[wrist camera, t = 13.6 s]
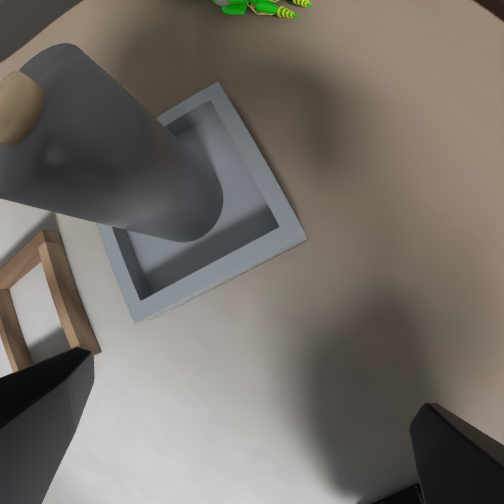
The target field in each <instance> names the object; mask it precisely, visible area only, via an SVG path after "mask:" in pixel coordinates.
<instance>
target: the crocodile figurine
mask: <svg viewBox="0 0 504 504" xmlns="http://www.w3.org/2000/svg"><path fill="white" fill-rule="evenodd" d="M212 1H213V3H215V4H217V5H219V6H222V7H221V10H222V12H223V13H225V14H229V15H238V14H245V10H246V8H247V7H248V6H249V4H250V3H251V5H250V6H249V7H250V8H251V10H252V11H254V13H256V12H259V13H260V14H259V13H256V14H258V15H261V14H262V15H266V14H267V15H273V14H275V15H278V17H284V18H286V17H287V18H290V17H291V18H293V17H298V16H297V15H296V14H295V13H294V12H292V11H291V10H288V8H285V7H284V6H280V7H279V6H277V5H274V3H276V2H278V1H279V0H212ZM290 1H293V3H294V4H296V5H301V6H305V7H308V6H309V7H312V5H311V4H310V2H309V1H308V0H290ZM296 2H297V3H296ZM252 8H253V9H252ZM254 8H255V9H256V10H257V11H255V10H254ZM264 13H265V14H264Z"/></svg>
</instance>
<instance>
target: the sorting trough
mask: <svg viewBox="0 0 504 504" xmlns="http://www.w3.org/2000/svg"><path fill="white" fill-rule="evenodd" d="M156 119H157V120H158V121H159V122H160V123H161V124H162V125H163V126H164V127H165V128H167V129H168V130H169V131H170V132H171V133H172V134H173V135H174V136H175V137H176V138H177V139H178V140H179V141H180V142H181V143H182V144H183V145H184V146H185V147H186V148H188V149H189V150H190V151H191V152H192V153H193V154H194V155H195V156H196V157H197V158H198V159H199V160H200V161H201V162H202V163H203V164H204V165H205V166H206V167H207V168H208V169H209V170H210V171H211V172H212V173H213V174H214V175H215V176H216V177H217V179H218V180H219V182H220V184H221V187H222V190H223V208H222V212H221V215H220V217H219V219H218V221H217V223H216V224H215V226H214V227H213V228H212V229H211V230H210V231H209V232H208V233H207V234H206V235H204V236H203V237H201V238H199V239H197V240H195V241H191V242H185V243H181V242H174V241H170V240H166V239H162V238H158V237H154V236H149V235H145V234H141V233H137V232H133V231H129V230H125V229H121V228H117V227H113V226H109V225H105V224H101V223H97V222H96V223H97V226H98V229H99V232H100V235H101V238H102V241H103V244H104V247H105V249H106V252H107V255H108V258H109V261H110V263H111V266H112V269H113V271H114V274H115V277H116V279H117V282H118V284H119V287H120V289H121V292H122V294H123V297H124V299H125V302H126V304H127V306H128V309H129V311H130V314H131V316H132V318H133V320H134V323H138V322H142V321H146V320H150V319H154V318H156V317H158V316H160V315H162V314H164V313H166V312H168V311H170V310H172V309H174V308H176V307H178V306H180V305H182V304H184V303H186V302H188V301H190V300H192V299H194V298H196V297H198V296H200V295H202V294H204V293H206V292H208V291H210V290H212V289H214V288H216V287H218V286H219V285H221V284H223V283H225V282H227V281H229V280H231V279H233V278H235V277H237V276H239V275H241V274H243V273H245V272H247V271H249V270H251V269H253V268H255V267H257V266H258V265H260V264H262V263H264V262H266V261H268V260H270V259H272V258H274V257H276V256H278V255H280V254H282V253H284V252H286V251H287V250H289V249H291V248H293V247H295V246H297V245H299V244H301V243H303V242H305V241H307V237H306V234H305V232H304V230H303V228H302V227H301V225H300V223H299V221H298V219H297V217H296V215H295V213H294V212H293V210H292V208H291V206H290V204H289V202H288V200H287V199H286V197H285V195H284V193H283V191H282V190H281V188H280V186H279V184H278V182H277V181H276V179H275V177H274V175H273V173H272V172H271V170H270V168H269V166H268V164H267V163H266V161H265V159H264V157H263V156H262V154H261V152H260V150H259V149H258V147H257V145H256V144H255V142H254V140H253V138H252V137H251V135H250V133H249V132H248V130H247V128H246V126H245V125H244V123H243V121H242V120H241V118H240V116H239V115H238V113H237V111H236V110H235V108H234V106H233V105H232V103H231V101H230V100H229V98H228V97H227V95H226V93H225V92H224V90H223V88H222V87H221V85H220V84H219V82H216V83H214V84H212V85H210V86H208V87H207V88H205V89H203V90H201V91H200V92H198V93H196V94H194V95H193V96H191V97H189V98H187V99H186V100H184V101H182V102H181V103H179V104H177V105H176V106H174V107H172V108H171V109H169V110H168V111H166V112H164V113H163V114H161V115H160V116H158V117H157V118H156Z"/></svg>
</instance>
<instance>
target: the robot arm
mask: <svg viewBox="0 0 504 504" xmlns="http://www.w3.org/2000/svg"><path fill="white" fill-rule="evenodd" d="M93 383H94V355H93V352H92V351H90V350H88V349H85V348H82V347H75V348H72V349H70V350H67V351H65V352H63V353H60V354H58V355H55V356H53V357H50V358H48V359H46V360H43V361H41V362H38V363H36V364H33V365H31V366H29V367H26V368H24V369H21V370H19V371H16V372H14V373H11V374H9V375H6V376H4V377H1V378H0V504H42V502H43V500H44V497H45V495H46V493H47V491H48V489H49V486H50V484H51V482H52V480H53V478H54V476H55V473H56V471H57V469H58V467H59V465H60V463H61V461H62V459H63V457H64V455H65V453H66V451H67V449H68V447H69V444H70V442H71V440H72V438H73V436H74V434H75V432H76V429H77V427H78V424H79V421H80V418H81V416H82V413H83V410H84V407H85V405H86V402H87V399H88V397H89V394H90V391H91V389H92V386H93ZM410 436H411V441H412V446H413V452H414V458H415V464H416V469H417V474H418V478H419V482H420V483H418V484H416V485H414V486H412V487H410V488H408V489H405V490H403V491H401V492H399V493H397V494H395V495H392V496H390V497H388V498H385V499H383V500H381V501H378V502H376V503H373V504H504V445H502V444H501V443H499V442H497V441H496V440H494V439H493V438H491V437H489V436H488V435H486V434H485V433H483V432H481V431H480V430H478V429H477V428H475V427H473V426H472V425H470V424H469V423H467V422H465V421H464V420H462V419H461V418H459V417H458V416H456V415H454V414H453V413H451V412H450V411H448V410H447V409H445V408H443V407H442V406H440V405H439V404H437V403H426V404H424V405H423V406H422V407H421V408H420V410H419V411H418V413H417V414H416V416H415V417H414V419H413V420H412V422H411V424H410Z"/></svg>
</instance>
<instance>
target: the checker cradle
mask: <svg viewBox="0 0 504 504" xmlns="http://www.w3.org/2000/svg"><path fill="white" fill-rule="evenodd" d="M41 261H42V265H43V268H44V272H45V275H46V279H47V282H48V285H49V289H50V292H51V295H52V298H53V301H54V304H55V307H56V310H57V313H58V316H59V318H60V321H61V324H62V327H63V329H64V332H65V334H66V337H67V340H68V342H69V345H70V347H71V349H72V348H75V347H82V348H85V349H88V350H90V351H92V352H93V355H96V354H99V353H101V350H100V347H99V345H98V343H97V341H96V338H95V336H94V333H93V331H92V328H91V326H90V323H89V321H88V318H87V316H86V313H85V311H84V308H83V305H82V303H81V300H80V297H79V294H78V291H77V289H76V286H75V283H74V280H73V277H72V274H71V271H70V268H69V264H68V261H67V258H66V255H65V251H64V248H63V244H62V241H61V237H60V234H59V233H56V232H50V231H44V230H42V231H41V232H40V233H39V234H38V235H36V236H35V237H34V238H33V239H32V240H31V241H30V242H29V243H28V244H27V245H25V246H24V247H23V248H22V249H21V250H20V251H19V252H18V253H17V254H16V255H15V256H14V257H13V258H12V259H11V260H10V261H9V262H8V263H7V264H6V265H5V266H4V267H3V268H2V269H1V270H0V335H1V339H2V342H3V345H4V348H5V351H6V353H7V356H8V359H9V362H10V364H11V367H12V370H13V372H16V371H19V370H21V369H24V368H26V367H29V366H31V365H33V363H32V360H31V358H30V355H29V353H28V350H27V347H26V344H25V341H24V339H23V336H22V333H21V330H20V327H19V324H18V320H17V317H16V314H15V311H14V307H13V304H12V300H11V296H10V293H9V289H10V288H11V287H12V286H13V285H14V284H15V283H16V282H17V281H19V280H20V279H21V278H22V277H23V276H24V275H25V274H27V273H28V272H29V271H30V270H31V269H32V268H34V267H35V266H36V265H37V264H38V263H40V262H41ZM69 350H70V349H69Z"/></svg>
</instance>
